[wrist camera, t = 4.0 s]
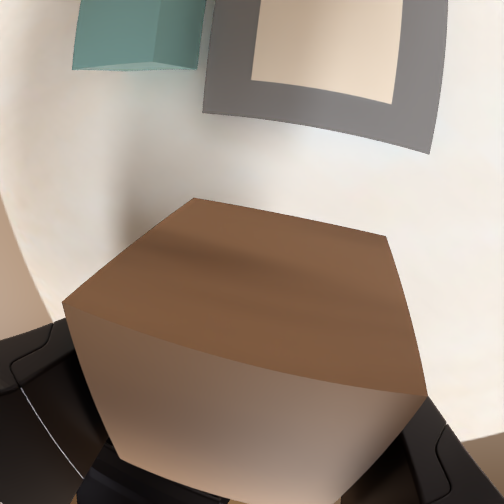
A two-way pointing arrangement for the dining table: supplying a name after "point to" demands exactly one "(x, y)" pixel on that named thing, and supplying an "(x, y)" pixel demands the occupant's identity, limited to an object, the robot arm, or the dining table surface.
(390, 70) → the grey square frame
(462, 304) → the dining table surface
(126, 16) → the teal block
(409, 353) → the walnut block
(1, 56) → the dining table surface
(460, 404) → the dining table surface
